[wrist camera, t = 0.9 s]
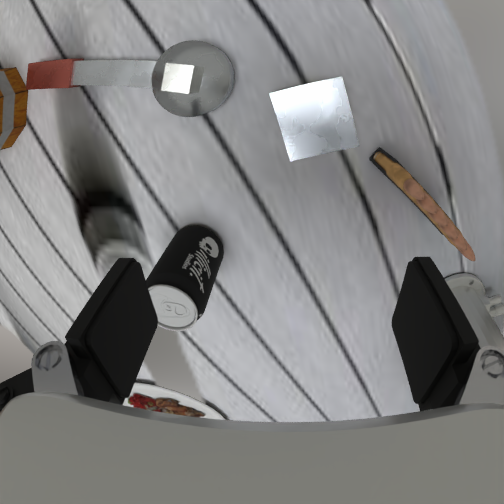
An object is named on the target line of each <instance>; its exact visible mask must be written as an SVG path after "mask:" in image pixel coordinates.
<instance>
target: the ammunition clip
mask: <svg viewBox="0 0 504 504" xmlns="http://www.w3.org/2000/svg"><path fill="white" fill-rule="evenodd" d="M369 159H370V161H371V162H372V163H373V164H374V165H375V166H376V167H377V168H378V169H379V170H380V171H381V172H382V173H383V174H384V175H385V176H386V177H387V178H389V179H390V180H391V181H392V182H393V183H394V184H395V185H396V186H397V187H398V188H399V189H400V190H401V191H402V192H403V193H404V194H405V195H406V196H407V197H408V198H409V199H410V200H411V201H412V202H413V203H414V204H415V205H416V206H417V207H418V208H419V210H420V211H421V212H422V213H423V214H424V215H425V216H426V217H427V218H428V219H429V220H430V221H431V222H432V224H433V225H434V226H435V227H436V228H437V229H438V230H439V231H440V233H441V234H442V235H444V236H445V237H446V238H447V239H448V241H449V242H450V243H451V244H453V245H454V246H455V247H456V248H457V249H458V250H459V251H460V252H461V253H462V254H463V255H464V256H465V257H466V258H468V259H469V260H471V261H475V255H474V252H473V250H472V248H471V247H470V245H469V244H468V243H467V241H466V240H465V238H464V237H463V235H462V233H461V232H460V230H459V229H458V228H457V227H456V226H455V225H454V224H453V222H452V220H451V219H450V218H449V217H448V216H447V214H446V213H445V212H444V211H443V210H442V209H441V207H440V206H439V205H438V204H437V203H436V202H435V200H434V199H433V198H432V197H431V196H430V195H429V194H428V193H427V191H426V190H425V189H424V188H423V187H422V186H421V185H420V184H419V183H418V182H417V181H416V180H415V179H414V178H413V176H412V175H411V174H410V173H409V172H408V171H407V170H406V169H405V168H404V167H403V166H402V165H401V164H400V163H399V162H398V161H397V160H396V159H394V158H393V157H392V156H390V155H389V154H388V153H387V152H385V151H384V150H383V149H381V148H378V149H377V150H376V151H375V153H374V154H373V155H372V156H371V157H370V158H369Z"/></svg>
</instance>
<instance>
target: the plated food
mask: <svg viewBox="0 0 504 504" xmlns="http://www.w3.org/2000/svg"><path fill="white" fill-rule="evenodd" d="M123 405H124V406H129V407H134V408H140V409H145V410H150V411H156V412H162V413H169V414H176V415H183V416H191V417H200V418H209V419H220V420H226V419H225V418H224V417H223V416H222V415H221V414H220V413H218V412H217V411H215V410H214V409H213V408H211V407H209V406H208V405H206V404H204V403H202V402H201V401H198V400H196V399H194V398H192V397H190V396H187V395H185V394H182V393H179V392H177V391H174V390H170V389H167V388H163V387H160V386H155V385H150V384H143V383H134V386H133V388H132V391H131V393H130V396H129V397H128V398H125V400H124V403H123Z"/></svg>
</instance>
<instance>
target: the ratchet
mask: <svg viewBox="0 0 504 504" xmlns="http://www.w3.org/2000/svg"><path fill="white" fill-rule="evenodd" d="M80 85H105V86H127V87H141V88H152V89H153V93H154V95H155V98H156V99H157V101H158V102H159V104H160V105H161V106H162V107H163V108H164V109H166V110H167V111H168V112H170V113H172V114H175V115H178V116H182V117H194V116H199V115H202V114H205V113H208V112H210V111H212V110H214V109H216V108H218V107H219V106H220V105H221V104H223V103H224V102H225V100H226V99H227V98H228V96H229V95H230V93H231V91H232V88H233V85H234V69H233V66H232V63H231V61H230V60H229V58H228V57H227V56H226V54H225V53H224V52H222V51H221V50H220V49H218V48H216V47H214V46H212V45H210V44H208V43H205V42H202V41H185V42H181V43H178V44H176V45H174V46H172V47H170V48H169V49H168V50H166V51H165V52H164V53H163V54H162V55H161V56H160V58H159V59H158V61H145V60H85V61H84V59H63V60H53V61H44V62H36V63H29V64H28V73H27V83H26V90H30V89H48V88H71V87H78V86H80Z"/></svg>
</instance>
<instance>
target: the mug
mask: <svg viewBox="0 0 504 504" xmlns="http://www.w3.org/2000/svg"><path fill="white" fill-rule="evenodd" d="M27 98H28V90H26V85H25V84H24V82H23V80H22V78H21V76H20V74H19V72H18V70H17V68H16V67H14V68H7V69H0V150H2V149H6V148H9V147H12V145H13V144H14V142H15V141H16V139H17V138H18V136H19V135H20V133H21V132H22V130H23V129H24V127H25V126H26V113H27Z"/></svg>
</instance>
